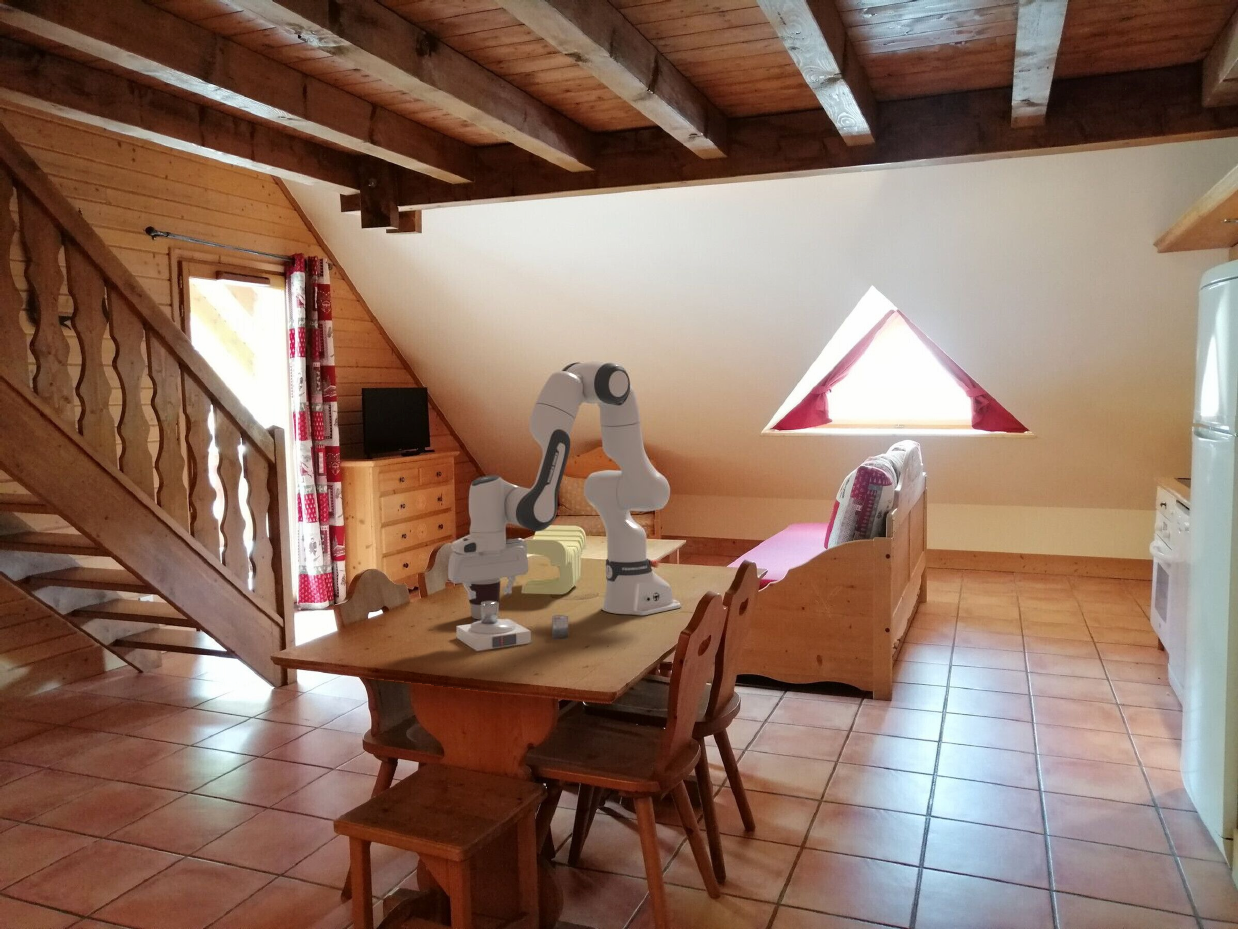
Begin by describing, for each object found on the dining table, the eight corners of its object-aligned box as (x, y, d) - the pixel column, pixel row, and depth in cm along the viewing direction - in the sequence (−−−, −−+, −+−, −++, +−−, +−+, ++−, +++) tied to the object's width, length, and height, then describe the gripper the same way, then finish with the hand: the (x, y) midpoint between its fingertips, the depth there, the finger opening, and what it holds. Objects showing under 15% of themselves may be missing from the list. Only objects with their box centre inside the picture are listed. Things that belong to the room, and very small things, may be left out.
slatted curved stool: (566, 600, 277) (565, 540, 276) (513, 599, 280) (512, 539, 279) (586, 580, 307) (586, 525, 305) (538, 579, 310) (538, 525, 308)
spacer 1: (494, 619, 239) (493, 600, 238) (499, 623, 235) (499, 603, 235) (479, 621, 237) (478, 601, 236) (484, 625, 233) (484, 605, 233)
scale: (508, 630, 244) (508, 615, 243) (531, 643, 231) (531, 627, 231) (456, 637, 237) (456, 622, 236) (477, 651, 224) (477, 635, 224)
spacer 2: (564, 633, 240) (563, 614, 240) (571, 637, 237) (570, 617, 236) (549, 635, 238) (549, 616, 238) (556, 639, 235) (556, 619, 234)
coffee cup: (468, 622, 252) (467, 567, 251) (464, 614, 262) (463, 560, 261) (505, 619, 255) (504, 564, 254) (500, 611, 264) (499, 558, 263)
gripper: (521, 535, 242) (523, 588, 244) (444, 544, 233) (447, 599, 234) (531, 539, 237) (533, 593, 238) (453, 548, 227) (455, 604, 228)
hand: (490, 596), depth 236 cm, fingers open, 8 cm apart
